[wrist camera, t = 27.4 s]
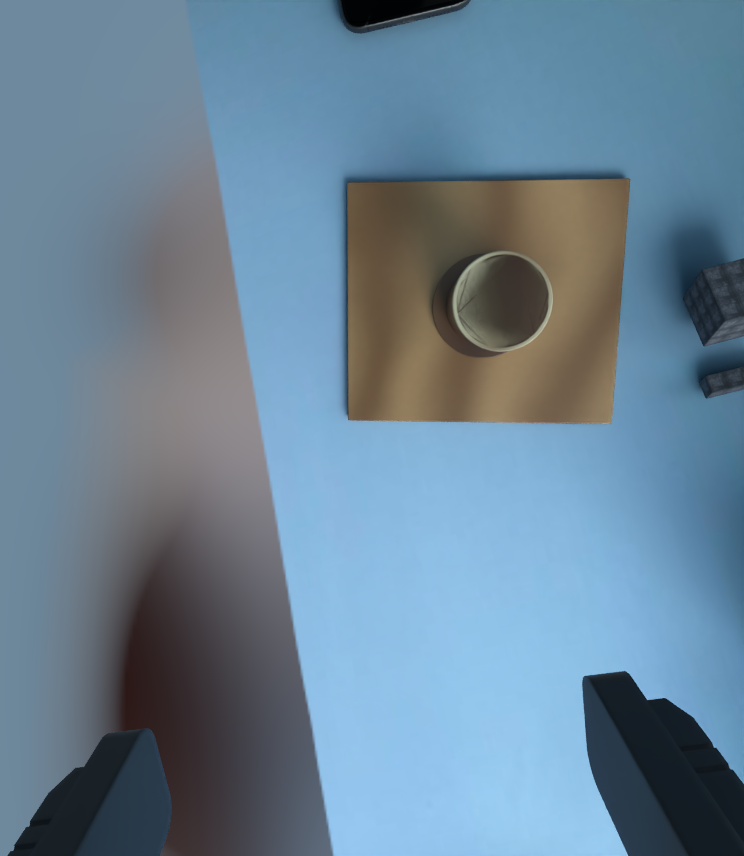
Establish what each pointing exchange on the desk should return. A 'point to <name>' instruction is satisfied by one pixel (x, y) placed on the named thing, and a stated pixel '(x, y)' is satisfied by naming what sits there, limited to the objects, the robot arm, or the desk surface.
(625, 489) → the desk surface
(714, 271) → the building blocks
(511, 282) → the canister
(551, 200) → the cork mat
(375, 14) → the smartphone
